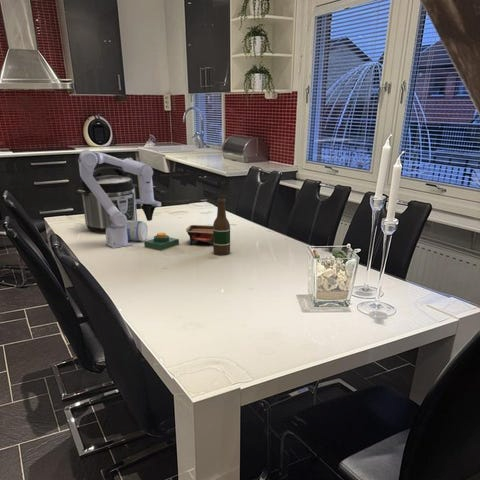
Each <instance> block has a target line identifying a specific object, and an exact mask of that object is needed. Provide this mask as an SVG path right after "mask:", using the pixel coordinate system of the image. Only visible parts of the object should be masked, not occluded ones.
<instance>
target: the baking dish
mask: <svg viewBox="0 0 480 480" xmlns="http://www.w3.org/2000/svg"><path fill="white" fill-rule="evenodd" d="M185 232H186V233H187V235H188V236H189V245H190V246H192V245H193V244H194V243H195V242H196V241H199V242H202V243H208V244H210V245H211V246H213V225H206V224H205V225H203V224H191V225H188V227H187V228H186V229H185Z"/></svg>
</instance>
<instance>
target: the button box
mask: <svg viewBox="0 0 480 480" xmlns="http://www.w3.org/2000/svg"><path fill="white" fill-rule="evenodd" d="M143 243H144V244H143V245H144V248H147V249H150V250H151V249H152V250H156V251H163V250H164V251H165V250H166V249H167V250H168V249H170V248H172V247H173V248H174V247H176V246H178V245H180V239H179V238H175V237H170V235H167V234H166V237H165V238H158V237H157V234H156V235H154V236H153V238H152V239H149V240H145V241H143Z"/></svg>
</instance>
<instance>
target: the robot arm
mask: <svg viewBox="0 0 480 480" xmlns="http://www.w3.org/2000/svg"><path fill="white" fill-rule="evenodd" d="M77 161H78V168H79V176H80V178H81V180H83V181H84V182H85V184H86V185H87V186H88V188H89V189H90V190H91V191H92V193H93V194H94V195H95V197H96V198H97V199H98V201H99V202H100V203H101V205H102V206H103V207H104V209H105V210H106V212H107V213H108V215H109V218H110V220H111V222H112V223H111V227H109V228H106V233H105V239H106V243H105V244H106V245H107V246H108V247H110V248H112V249H115V248H116V249H117V248H120V247H121V248H122V247H129V246H132V243H130V242H129V240H128V235H127V225H126V223H127V218H126V216H125V215H124V214H122V213H121V212H120V211H119V210H118V209H117V208H116V207H115V205H114V204H113V203H112V201H111V200H110V199H109V197H108V196H107V194H106V193H105V192H104V190H103V189H102V188H101V186H100V185H99V184H98V182H97V181H96V180H95V178H94V177H93V171H94V170H95V169H96V166H97V165H100V164H101V165H102V164H103V163H106V164H109V165H113V166H117V167H119V168H120V167H121V169H122V170H124V171H126V172H127V173H128V174H129V173H130V174H133V175H135V176H139V187H140V196H141V197H140V198H136V200H135V204H136V205H140V209H141V210H142V211H143V213H144V216H145V219H146V221H148V222H150V221H153V215H154V212H155V210H156V207H158V208H159V207H162V202H161V201H158V200H156V199H155V196H154V195H155V194H154V182H153V175H154V170H153V168H152V167H151V166H150V165H149V164H146V163H144V162H143V161H138V160H134V158H132V157H126V158H124V159H121V158H118V157H115V156H113V155H109V154H107V153H104V152H100V151H95V150H93V151H91V150H89V149H84V150H82V151H80V153H79V156H78V160H77Z"/></svg>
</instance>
